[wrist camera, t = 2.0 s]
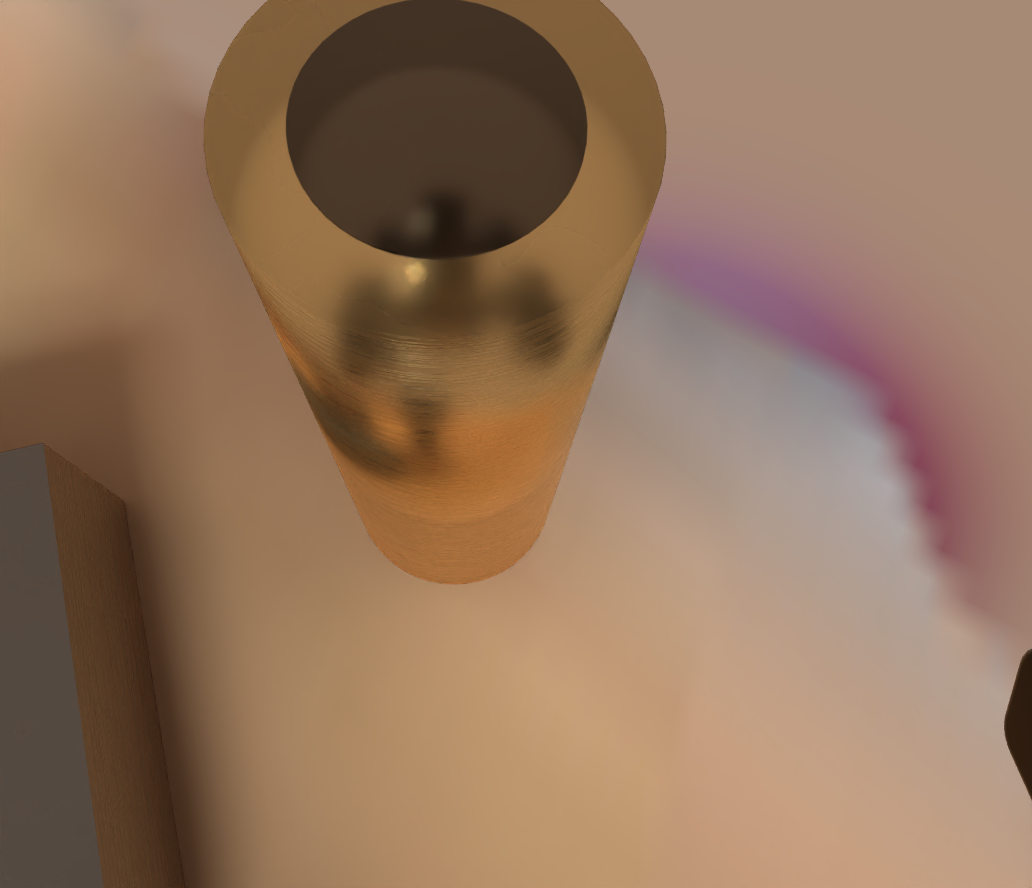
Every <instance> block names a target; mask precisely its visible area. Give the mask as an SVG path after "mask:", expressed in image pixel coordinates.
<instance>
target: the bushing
mask: <svg viewBox="0 0 1032 888" xmlns="http://www.w3.org/2000/svg"><path fill="white" fill-rule="evenodd" d="M204 151H205V159H206V168H207V173H208V177H209V180H210V184H211V187H212V191H213V194H214V198H215V200H216V202H217V204H218V207H219V209H220V211H221V213H222V215H223V217H224V220H225V222H226V224H227V226H228V228H229V231H230V233H231V235H232V237H233V239H234V241H235V244H236V246H237V248H238V250H239V252H240V254H241V257H242V259H243V261H244V263H245V265H246V268H247V270H248V272H249V274H250V276H251V278H252V281H253V283H254V285H255V287H256V289H257V291H258V294H259V296H260V298H261V300H262V302H263V305H264V307H265V309H266V311H267V313H268V315H269V318H270V320H271V322H272V324H273V326H274V328H275V331H276V333H277V335H278V337H279V339H280V342H281V344H282V346H283V348H284V350H285V352H286V355H287V357H288V359H289V361H290V363H291V365H292V368H293V370H294V372H295V374H296V376H297V379H298V381H299V383H300V385H301V387H302V389H303V392H304V394H305V396H306V398H307V400H308V402H309V405H310V407H311V409H312V411H313V413H314V416H315V418H316V420H317V422H318V424H319V426H320V429H321V431H322V433H323V435H324V437H325V439H326V442H327V444H328V446H329V448H330V450H331V453H332V455H333V457H334V459H335V461H336V463H337V466H338V468H339V470H340V472H341V474H342V476H343V479H344V481H345V483H346V485H347V487H348V490H349V492H350V494H351V496H352V498H353V500H354V503H355V505H356V507H357V509H358V511H359V513H360V516H361V518H362V520H363V522H364V524H365V527H366V529H367V531H368V533H369V535H370V537H371V538H372V540H373V541H374V543H375V545H376V546H377V547H378V548H379V550H380V551H381V552H382V553H383V554H384V555H385V556H386V557H387V558H388V559H389V560H390V561H391V562H392V563H393V564H395V565H396V566H398V567H399V568H401V569H402V570H404V571H406V572H408V573H410V574H411V575H413V576H415V577H418V578H421V579H424V580H427V581H431V582H436V583H442V584H467V583H472V582H477V581H481V580H484V579H487V578H490V577H492V576H495V575H497V574H499V573H501V572H503V571H504V570H506V569H507V568H509V567H510V566H512V565H513V564H515V563H516V562H517V561H518V560H519V559H520V558H522V557H523V556H524V555H525V554H526V552H527V551H528V550H529V549H530V548H531V547H532V545H533V544H534V542H535V541H536V539H537V538H538V536H539V534H540V532H541V530H542V528H543V526H544V524H545V521H546V518H547V515H548V512H549V509H550V506H551V503H552V500H553V497H554V495H555V492H556V489H557V486H558V483H559V480H560V477H561V474H562V471H563V468H564V465H565V463H566V460H567V457H568V454H569V451H570V448H571V445H572V442H573V439H574V436H575V433H576V430H577V428H578V425H579V422H580V419H581V416H582V413H583V410H584V407H585V404H586V401H587V398H588V396H589V393H590V390H591V387H592V384H593V381H594V378H595V375H596V372H597V369H598V366H599V364H600V361H601V358H602V355H603V352H604V349H605V346H606V343H607V340H608V337H609V334H610V331H611V329H612V326H613V323H614V320H615V317H616V314H617V311H618V308H619V305H620V302H621V299H622V297H623V294H624V291H625V288H626V285H627V282H628V279H629V276H630V273H631V270H632V267H633V265H634V262H635V259H636V256H637V253H638V250H639V247H640V244H641V241H642V238H643V235H644V232H645V230H646V226H647V224H648V221H649V218H650V215H651V212H652V209H653V206H654V203H655V200H656V197H657V194H658V191H659V188H660V186H661V182H662V176H663V171H664V164H665V159H666V125H665V118H664V109H663V104H662V101H661V97H660V94H659V90H658V87H657V83H656V80H655V78H654V76H653V73H652V71H651V69H650V67H649V65H648V62H647V60H646V58H645V56H644V55H643V53H642V51H641V50H640V48H639V46H638V45H637V43H636V42H635V40H634V39H633V37H632V36H631V34H630V33H629V32H628V30H627V29H626V28H625V27H624V26H623V24H622V23H621V22H620V21H619V19H618V18H617V17H616V16H615V15H614V14H613V13H612V12H611V11H610V10H609V9H608V8H607V7H606V6H605V5H604V4H603V3H602V2H600V1H599V0H268V1H267V2H265V3H264V4H263V5H262V6H261V7H260V9H259V10H258V11H257V12H256V13H255V14H254V15H253V16H252V17H251V18H250V19H249V20H248V21H247V22H246V24H245V25H244V26H243V28H242V29H241V30H240V32H239V33H238V35H237V36H236V38H235V39H234V40H233V42H232V43H231V45H230V46H229V48H228V50H227V52H226V54H225V56H224V58H223V60H222V62H221V64H220V65H219V67H218V70H217V73H216V75H215V78H214V81H213V84H212V87H211V90H210V93H209V98H208V103H207V108H206V114H205V121H204Z"/></svg>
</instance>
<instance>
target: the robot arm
mask: <svg viewBox="0 0 1032 888" xmlns="http://www.w3.org/2000/svg"><path fill="white" fill-rule="evenodd" d="M1004 731H1005V738H1006V741H1007V745H1008V748H1009V750H1010V753H1011V755H1012V757H1013V759H1014V762H1015V764H1016V766H1017V768H1018V771H1019V773H1020V775H1021V777H1022V780H1023V782H1024V784H1025V786H1026V788H1027V791H1028V793H1029V795H1030V797H1031V800H1032V649H1030V650H1028V651H1027V652H1026V653H1025V655H1024V656H1023V657H1022V659H1021V662H1020V665H1019V669H1018V672H1017V676H1016V679H1015V683H1014V686H1013V690H1012V694H1011V697H1010V701H1009V704H1008V708H1007V711H1006V715H1005V721H1004Z"/></svg>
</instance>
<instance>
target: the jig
mask: <svg viewBox="0 0 1032 888" xmlns="http://www.w3.org/2000/svg"><path fill="white" fill-rule="evenodd" d="M0 888H185V885H184V879H183V872H182V866H181V860H180V853H179V847H178V841H177V834H176V828H175V822H174V815H173V809H172V803H171V796H170V790H169V784H168V777H167V771H166V765H165V758H164V752H163V746H162V739H161V733H160V727H159V720H158V714H157V708H156V701H155V695H154V689H153V682H152V676H151V670H150V663H149V657H148V651H147V644H146V638H145V632H144V625H143V619H142V613H141V606H140V600H139V594H138V587H137V581H136V575H135V568H134V562H133V556H132V549H131V543H130V537H129V530H128V524H127V518H126V511H125V505H124V501H123V500H121V499H120V498H119V497H117V496H116V495H115V494H113V493H112V492H110V491H109V490H108V489H106V488H105V487H103V486H102V485H101V484H99V483H98V482H96V481H95V480H94V479H92V478H91V477H89V476H88V475H87V474H85V473H84V472H83V471H81V470H80V469H78V468H77V467H76V466H74V465H73V464H71V463H70V462H69V461H67V460H66V459H64V458H63V457H62V456H60V455H59V454H57V453H56V452H55V451H53V450H52V449H51V448H49V447H48V446H46V445H45V444H44V443H41V444H37V445H33V446H28V447H24V448H19V449H15V450H11V451H6V452H2V453H0Z"/></svg>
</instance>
